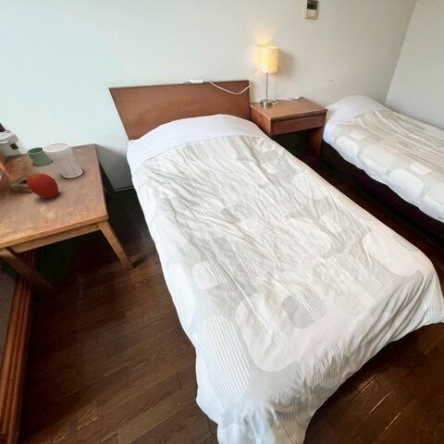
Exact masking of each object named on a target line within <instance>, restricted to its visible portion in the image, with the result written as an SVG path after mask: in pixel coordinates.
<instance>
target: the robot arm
mask: <svg viewBox="0 0 444 444" xmlns="http://www.w3.org/2000/svg"><path fill="white" fill-rule="evenodd" d="M19 140H20V139H19V137H18V136H17V135H16V133H14V132H12V131H11V130H9V129H5V130H4V131H3V132H0V147H8V146H9V145H10V144H13V143H17V142H19Z"/></svg>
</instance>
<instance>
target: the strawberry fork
mask: <svg viewBox="0 0 444 444" xmlns="http://www.w3.org/2000/svg"><path fill="white" fill-rule="evenodd" d="M4 130H6V128H5V127H4V125H3V124H2V123H1V122H0V132H3V131H4ZM8 146H9V147H10V149H12V150H14V151H16V150H19V149H20V147H19V146H18V145H17V142H15V143H13V144H10V145H8Z"/></svg>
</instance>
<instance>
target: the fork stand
mask: <svg viewBox="0 0 444 444" xmlns="http://www.w3.org/2000/svg"><path fill="white" fill-rule="evenodd" d="M28 178H29V177H25V176H22V177H21V178H20V179H18V180H17V181H15V182H14V183H12V184H10V187H11V188H12V189H13V191H14V192H18V193H33V192H32V191H31V190H30V189H29V188H28V186H27V180H28Z"/></svg>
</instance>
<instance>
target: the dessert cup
mask: <svg viewBox="0 0 444 444" xmlns="http://www.w3.org/2000/svg"><path fill="white" fill-rule="evenodd" d="M26 154H27V155H28V157H29V158H30V160H31V161H32V163H34V165H35V166H37V167H38V166H39V167H41V166H47V165H49V164H52V163H53V161H52V159H49V158H48V157H47V155H46V154H45V153H44V151H43V147H42V146H39V147H33V148H30V149H27V151H26Z"/></svg>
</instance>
